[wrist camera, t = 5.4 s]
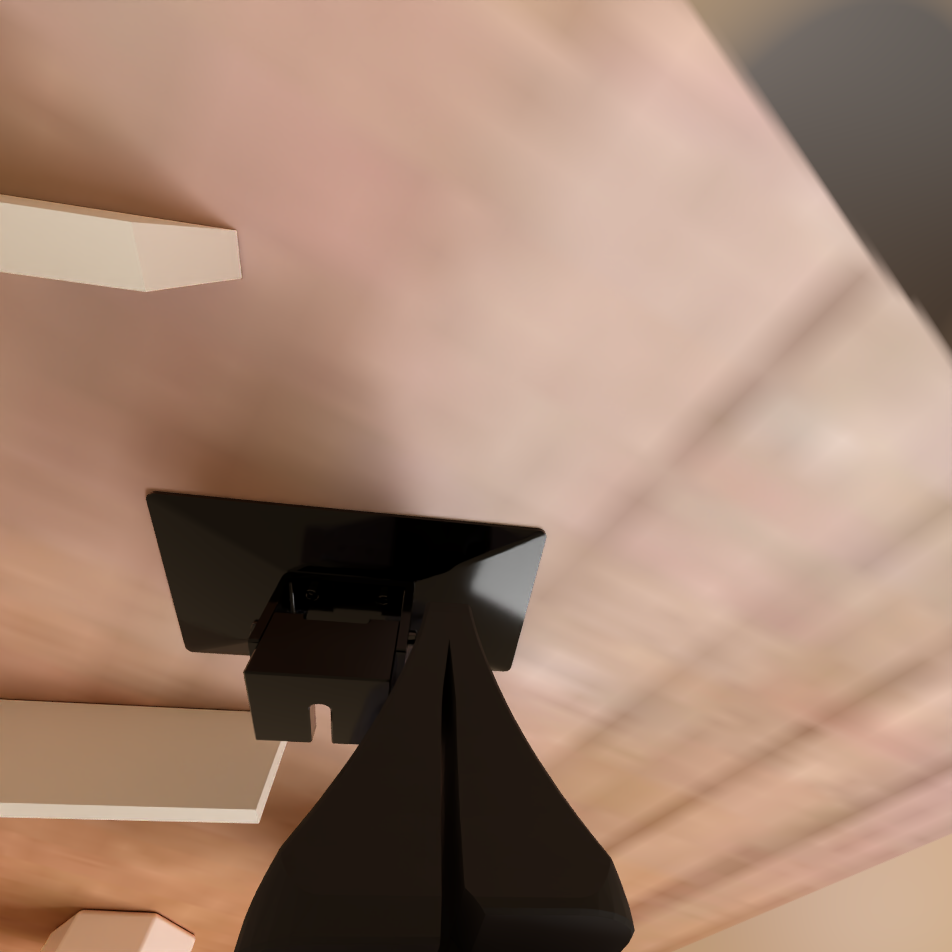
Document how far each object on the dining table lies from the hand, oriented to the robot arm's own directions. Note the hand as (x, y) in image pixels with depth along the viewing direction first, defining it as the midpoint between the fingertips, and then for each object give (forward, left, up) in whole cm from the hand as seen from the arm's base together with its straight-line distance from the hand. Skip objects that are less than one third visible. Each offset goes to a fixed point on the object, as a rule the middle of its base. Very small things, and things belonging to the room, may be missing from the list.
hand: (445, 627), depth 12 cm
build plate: (-1, +3, -3) cm, 4 cm away
